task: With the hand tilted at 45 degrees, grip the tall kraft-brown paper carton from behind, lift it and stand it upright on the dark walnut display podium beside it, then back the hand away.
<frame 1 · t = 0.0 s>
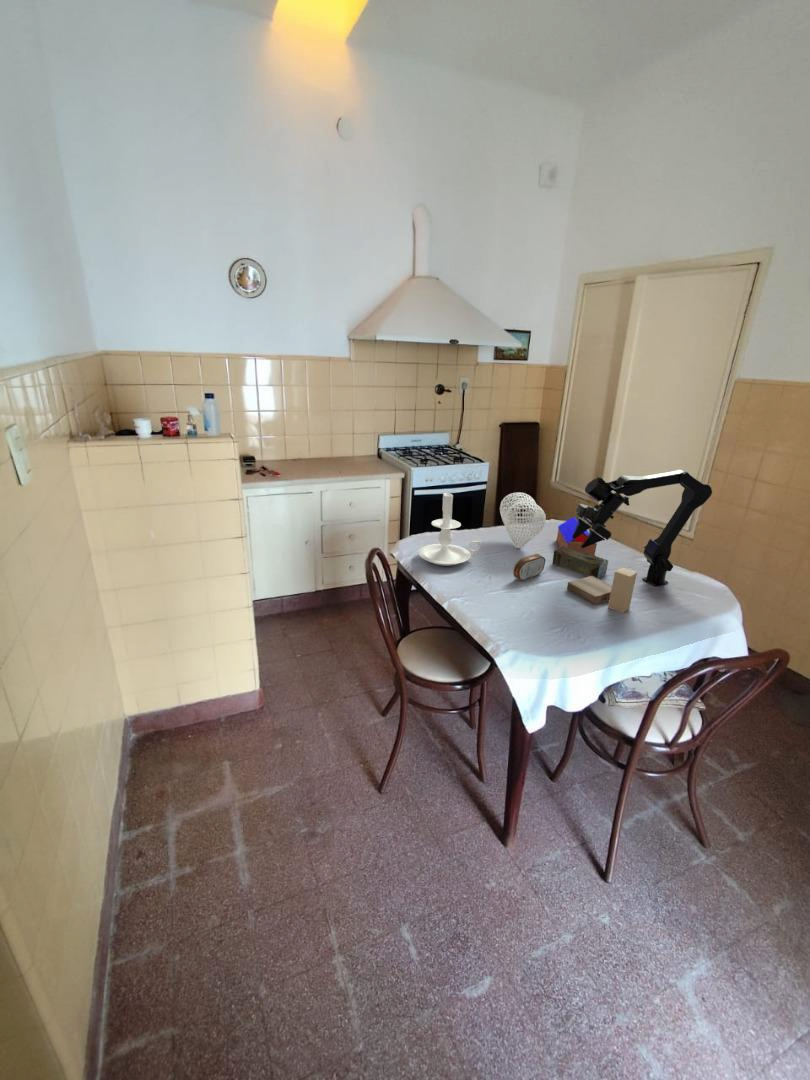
hand: (577, 542, 175), 15 cm above the table, tool tilted 35°, fingers open, 9 cm apart
heart: (517, 548, 209), on the table
house: (574, 550, 209), on the table
kraft carton: (618, 607, 163), on the table
walnut podium: (592, 593, 171), on the table
candlestick: (449, 561, 195), on the table
tin: (528, 577, 182), on the table
beverage carton: (578, 569, 191), on the table
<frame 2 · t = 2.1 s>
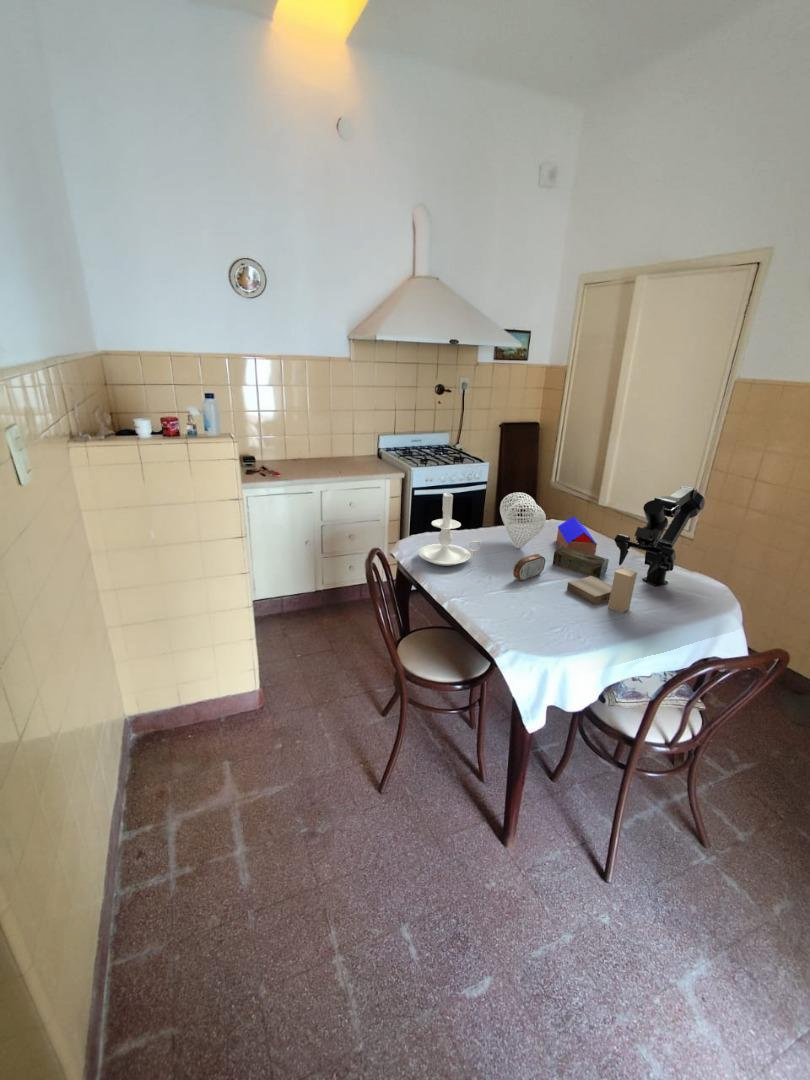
hand: (633, 569, 162), 12 cm above the table, tool tilted 45°, fingers open, 9 cm apart
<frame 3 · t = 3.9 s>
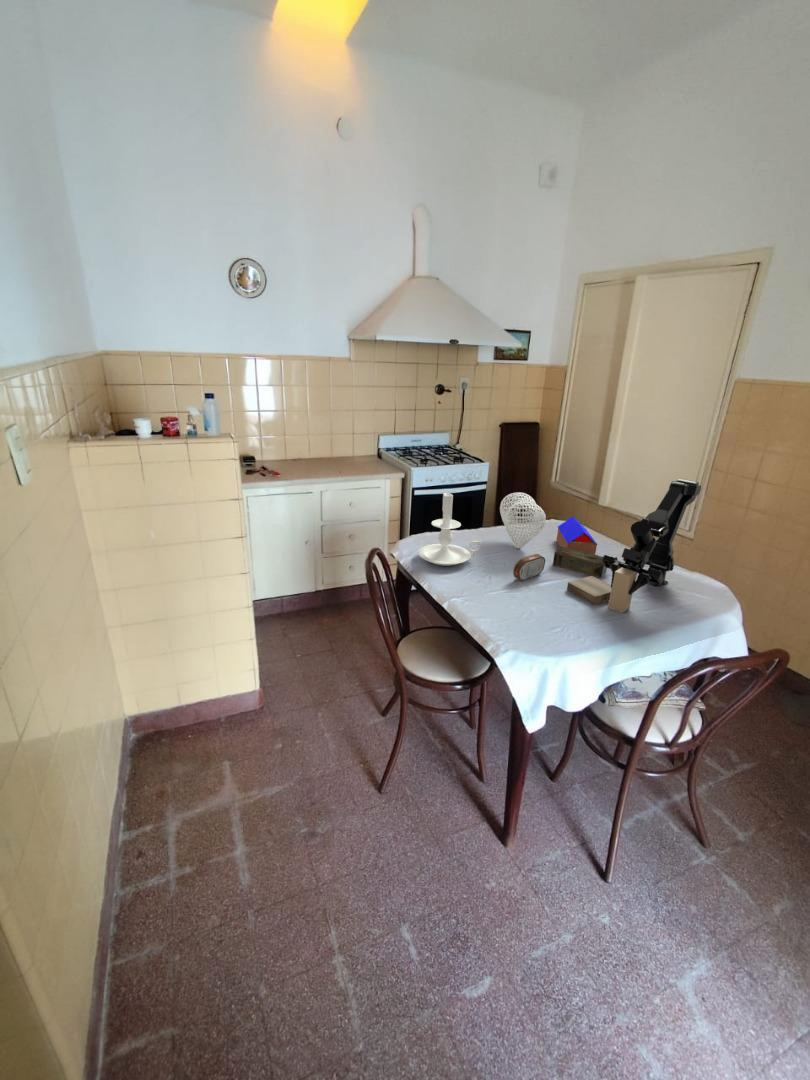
hand: (620, 590, 159), 7 cm above the table, tool tilted 45°, fingers open, 6 cm apart
kraft carton: (618, 607, 163), on the table, touching gripper
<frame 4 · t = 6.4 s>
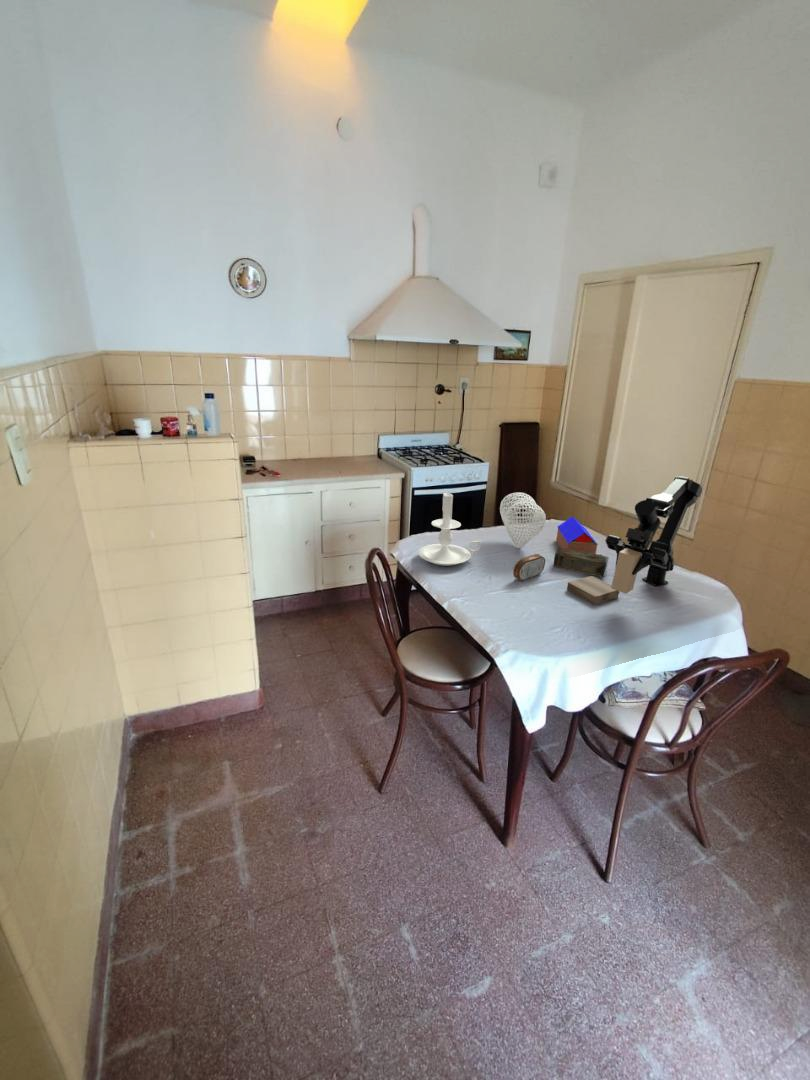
hand: (624, 571, 157), 13 cm above the table, tool tilted 45°, fingers closed on kraft carton, 5 cm apart
kraft carton: (621, 588, 160), point 7 cm above the table, touching gripper
when the fingers open (11 cm above the table, at t = 8.4 s): kraft carton drops 1 cm, resting on walnut podium.
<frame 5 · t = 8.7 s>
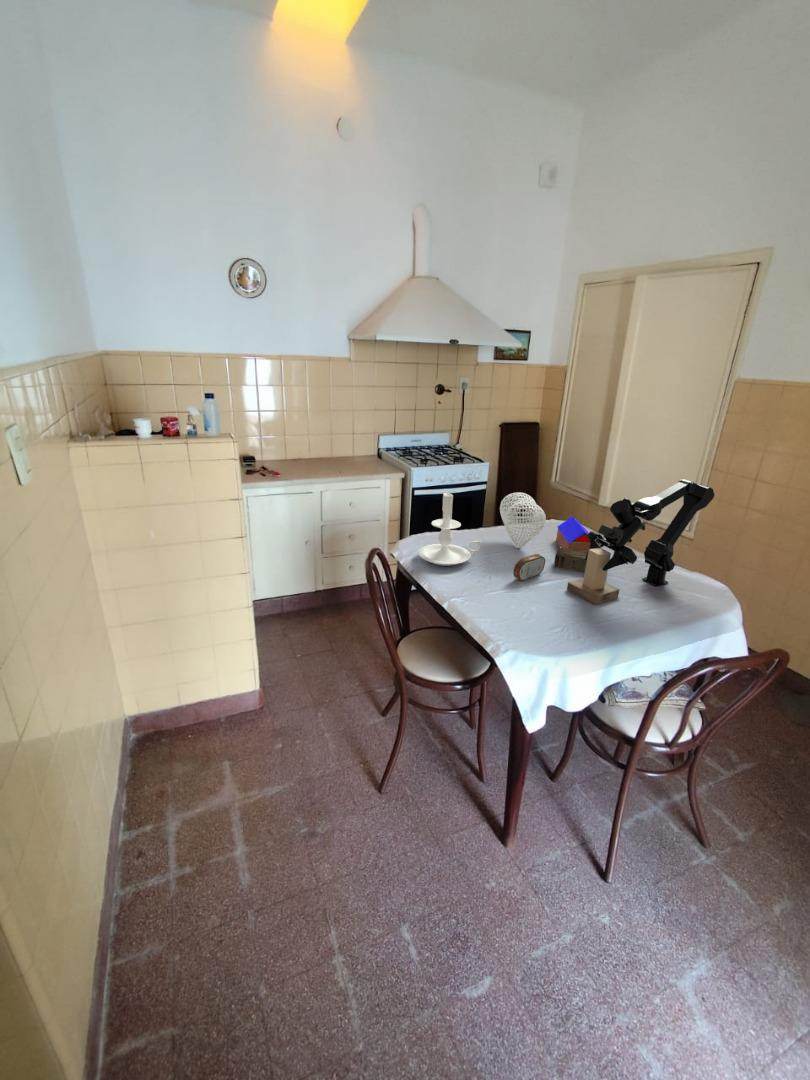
hand: (594, 565, 167), 11 cm above the table, tool tilted 45°, fingers open, 8 cm apart
kraft carton: (593, 585, 170), point 3 cm above the table, touching walnut podium
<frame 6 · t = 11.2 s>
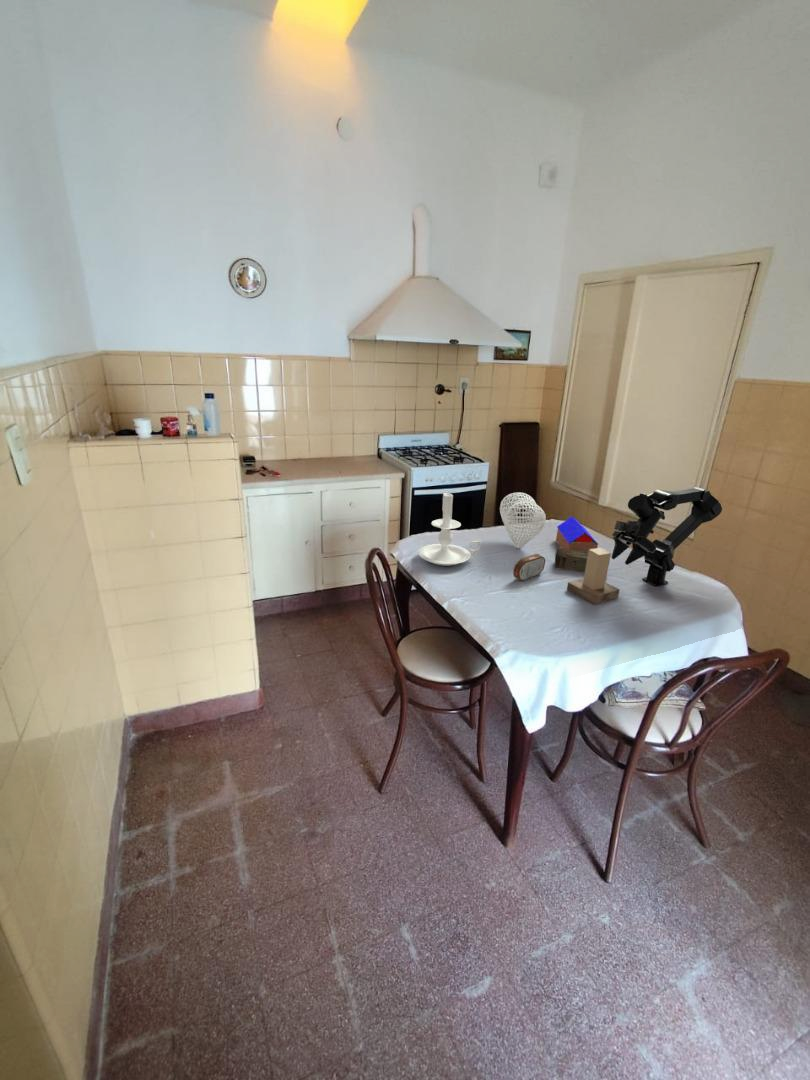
hand: (619, 561, 170), 11 cm above the table, tool tilted 35°, fingers open, 9 cm apart
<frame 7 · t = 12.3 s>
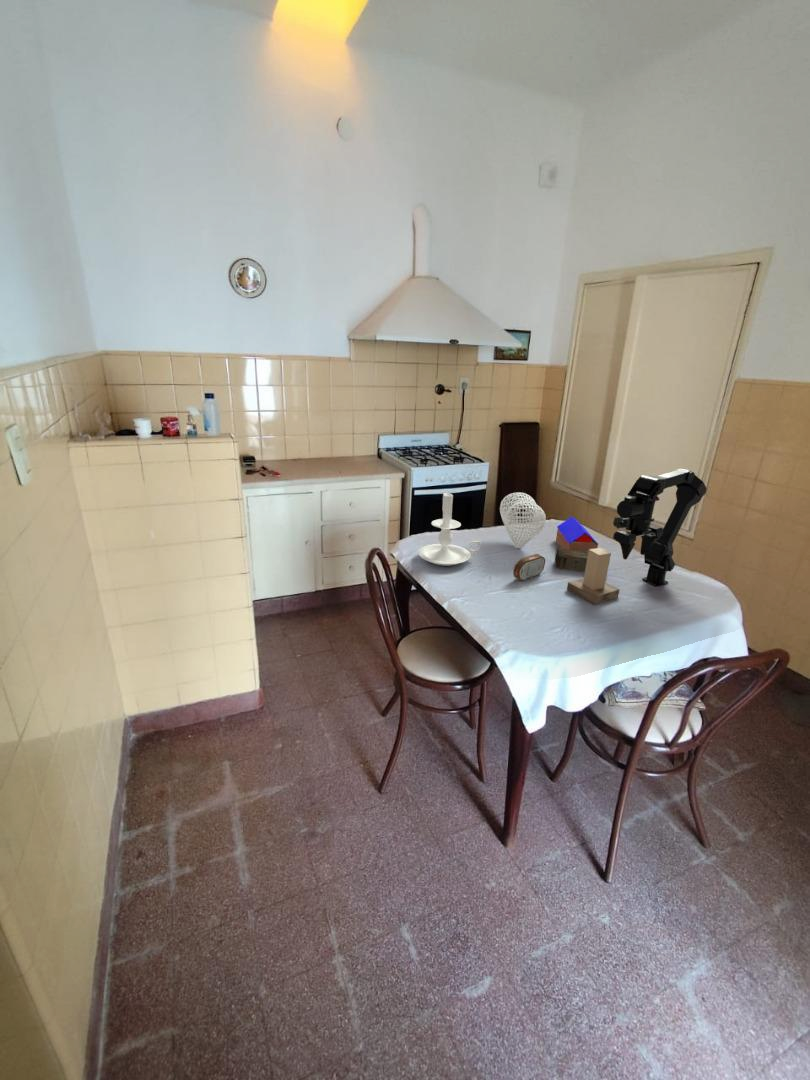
hand: (633, 556, 169), 13 cm above the table, tool pointing down, fingers open, 9 cm apart
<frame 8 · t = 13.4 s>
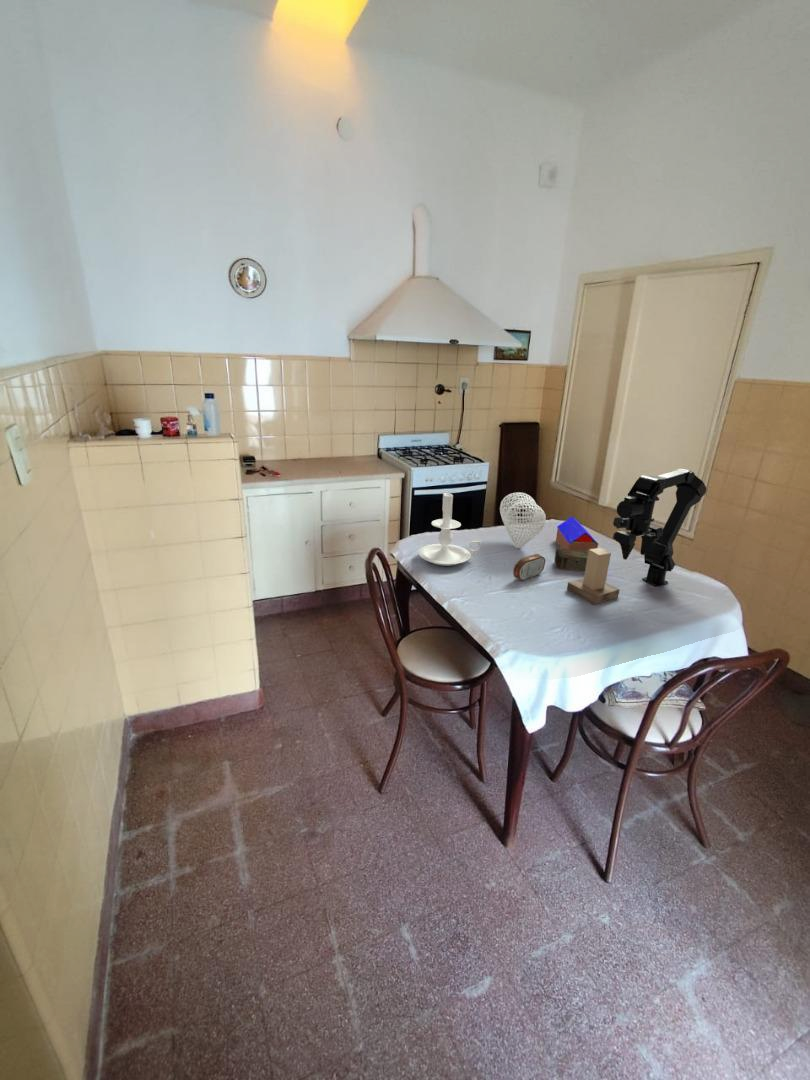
hand: (633, 556, 169), 13 cm above the table, tool pointing down, fingers open, 9 cm apart
at the end: kraft carton inside the target area on the walnut podium (0.0 cm from its centre), point 3.0 cm above the walnut podium's base; kraft carton tilted 0°; the gripper is holding nothing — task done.
